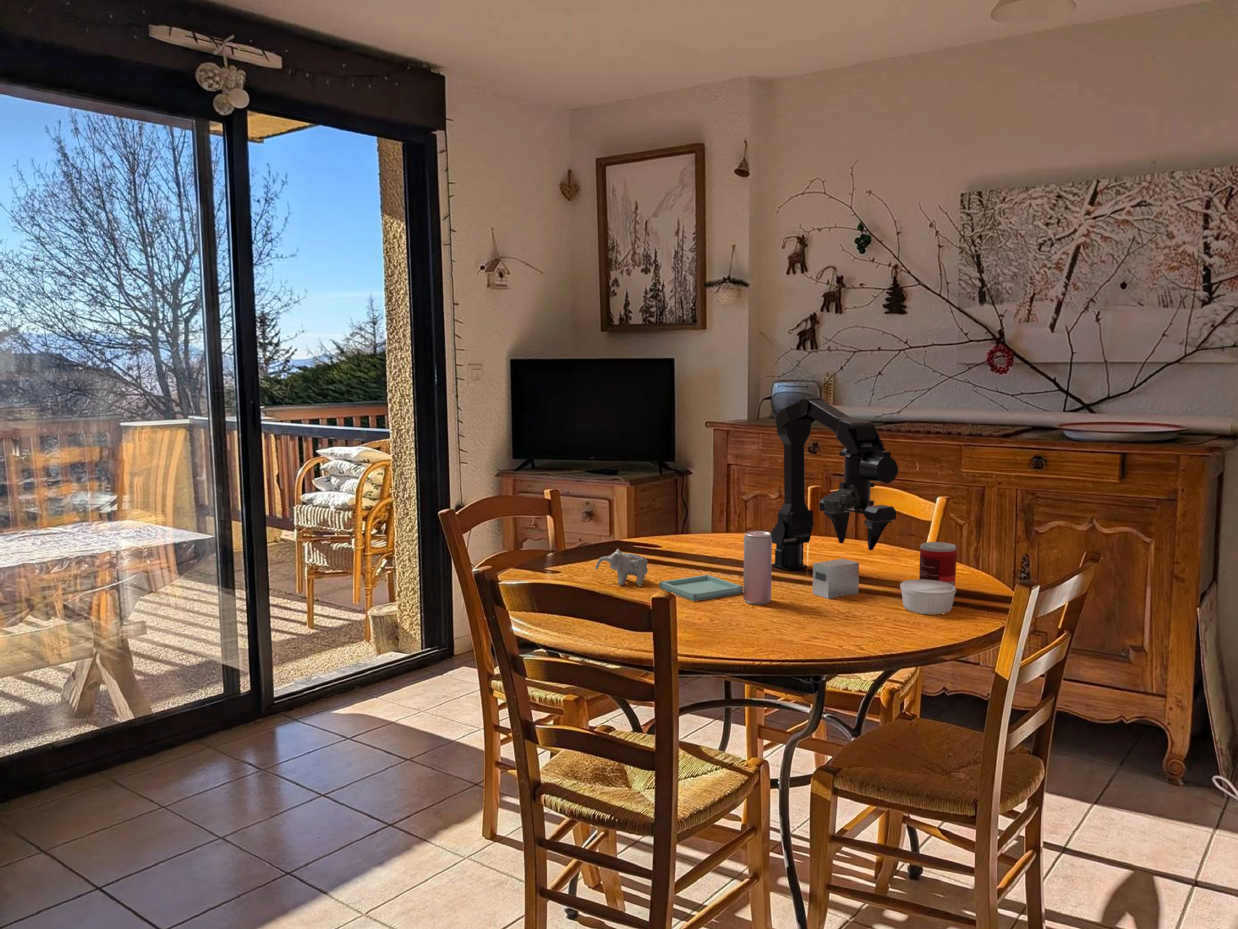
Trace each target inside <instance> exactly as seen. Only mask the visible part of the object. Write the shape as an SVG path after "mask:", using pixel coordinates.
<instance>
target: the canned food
mask: <svg viewBox="0 0 1238 929" xmlns="http://www.w3.org/2000/svg"><path fill="white" fill-rule="evenodd" d="M919 548H920V551H919V579H925V580H936V581H942V582H947V583H950V584H952V585H954V586H955V587H956V577H957V576H956V575H957V546H956V544H953V543H949V542H944V541H943V542H942V541H941V542H939V541H928V542H923V543H921V544H920V547H919Z"/></svg>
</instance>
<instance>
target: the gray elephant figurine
mask: <svg viewBox="0 0 1238 929" xmlns="http://www.w3.org/2000/svg"><path fill="white" fill-rule="evenodd" d="M603 561H604V562H608V563H609V564H610V566H609V567H610V569H611V570H614V571H616V572H617V579H618V581H617V584H618V585H619V584H620V585H619V586H621V585H623V586H624V585H625V584H626V580H628V575H629V576H634V577H636V581H635V584H636V586H637V585H642V586H643V584H644V580H645V578H646V575H647V574H648V560H647V558H645V556H641V555H639V554H636V553H631V552H629V553H627V552H622V551H621V550H620V549H619V548H616V550H615V551H614V552H613V553H612V554H611V555H610V554H609V555H607V556H601V557H599V558H598V560H597V563H596V564H595V570H598V569H599V568H600V564H601V563H602V562H603ZM643 579H644V580H643Z"/></svg>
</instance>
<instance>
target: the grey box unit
mask: <svg viewBox="0 0 1238 929" xmlns="http://www.w3.org/2000/svg"><path fill="white" fill-rule="evenodd" d="M859 576H860V562H858V561H854V560H851V559H846V558H839V559H831V560H825V561H819V562H813V563H812V595H815V596H817V597H821V598H824V599H827V600H829V599H834V598H835V597H836V598H840V597H839V596H841V597H845V595H847V596H852V595H857V594H859V586H860V585H859V582H860V581H859V579H860V577H859Z"/></svg>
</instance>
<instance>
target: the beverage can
mask: <svg viewBox="0 0 1238 929" xmlns="http://www.w3.org/2000/svg"><path fill="white" fill-rule="evenodd" d="M772 550H773V543H772V538H771V532H767V531H762V530H751V531H746V532H745V533H744V538H743V585H742V586H743V593H742V594H743V600H744V602H745V603H746V604H748V605H749V604H750V605H759V606H760V605H766V604H769V603H770V602H771V600H772V569H773V568H772V567H773V566H772V564H773V563H772V562H773V561H772V560H773V559H772V558H773V554H772V553H773V552H772Z"/></svg>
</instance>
